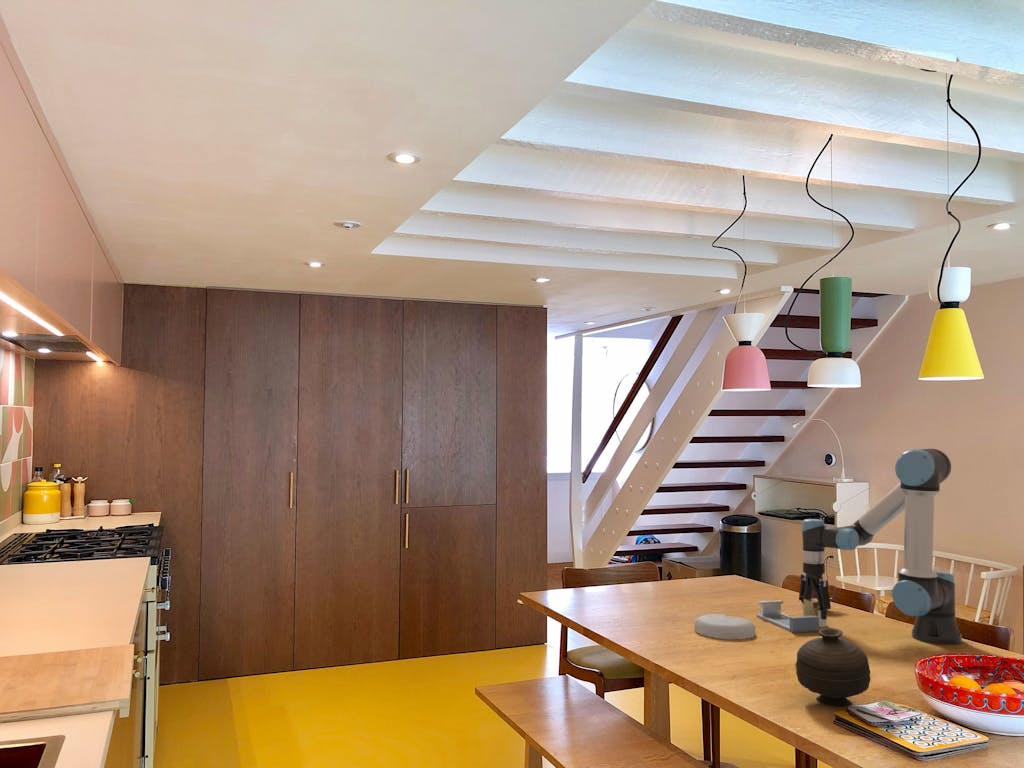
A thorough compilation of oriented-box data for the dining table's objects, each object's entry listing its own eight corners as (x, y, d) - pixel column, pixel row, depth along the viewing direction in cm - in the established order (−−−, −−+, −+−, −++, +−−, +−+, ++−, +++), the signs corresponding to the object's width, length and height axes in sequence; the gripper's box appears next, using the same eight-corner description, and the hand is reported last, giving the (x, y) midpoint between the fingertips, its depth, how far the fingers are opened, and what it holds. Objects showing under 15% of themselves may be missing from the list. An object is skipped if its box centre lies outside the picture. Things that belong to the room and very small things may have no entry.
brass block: (825, 627, 298) (825, 601, 299) (813, 627, 297) (813, 602, 297) (816, 623, 304) (815, 598, 304) (804, 624, 303) (803, 599, 303)
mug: (808, 611, 323) (808, 585, 323) (803, 606, 332) (802, 580, 332) (840, 612, 322) (840, 585, 322) (834, 607, 330) (833, 581, 331)
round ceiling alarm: (675, 630, 295) (675, 613, 295) (738, 626, 301) (738, 609, 301) (708, 648, 271) (708, 629, 271) (777, 643, 277) (776, 625, 277)
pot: (801, 718, 205) (799, 636, 206) (791, 695, 222) (790, 620, 223) (878, 724, 201) (876, 640, 202) (863, 700, 218) (861, 623, 219)
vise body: (819, 634, 287) (818, 616, 288) (793, 636, 285) (792, 618, 286) (780, 618, 312) (780, 601, 312) (756, 619, 310) (756, 603, 310)
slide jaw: (783, 615, 309) (783, 601, 310) (760, 616, 307) (760, 602, 308) (780, 614, 311) (780, 600, 312) (758, 615, 309) (757, 601, 310)
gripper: (841, 566, 292) (842, 631, 291) (806, 557, 313) (807, 617, 312) (821, 567, 290) (822, 632, 289) (788, 557, 311) (789, 618, 310)
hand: (814, 624), depth 300 cm, fingers open, 9 cm apart
